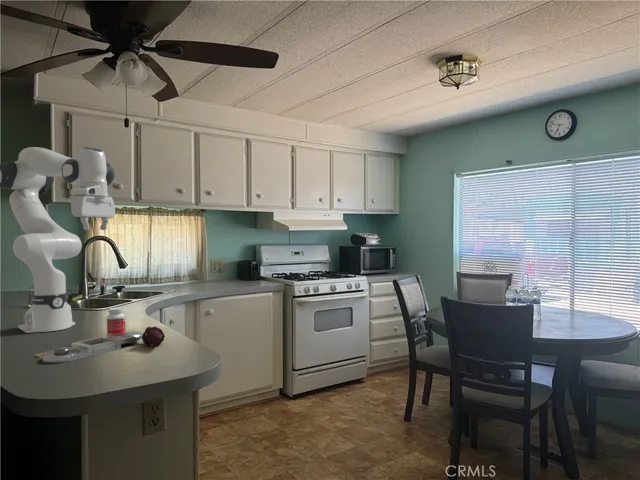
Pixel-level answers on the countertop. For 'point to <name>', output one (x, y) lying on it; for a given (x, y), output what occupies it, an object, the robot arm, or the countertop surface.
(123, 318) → the pill bottle
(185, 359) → the countertop surface
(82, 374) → the countertop surface
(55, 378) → the countertop surface
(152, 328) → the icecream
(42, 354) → the link plate
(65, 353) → the flat tray with frame
